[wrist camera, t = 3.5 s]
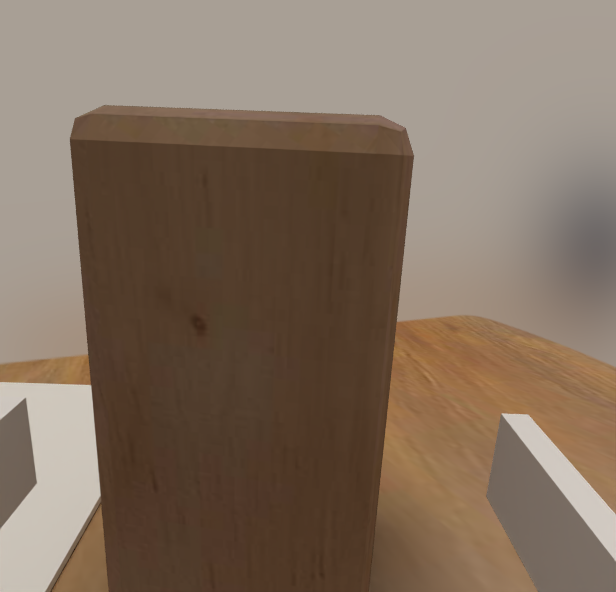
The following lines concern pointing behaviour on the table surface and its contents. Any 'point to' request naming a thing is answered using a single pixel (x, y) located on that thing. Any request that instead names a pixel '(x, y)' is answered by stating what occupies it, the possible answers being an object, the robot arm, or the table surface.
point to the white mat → (51, 486)
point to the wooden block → (239, 340)
